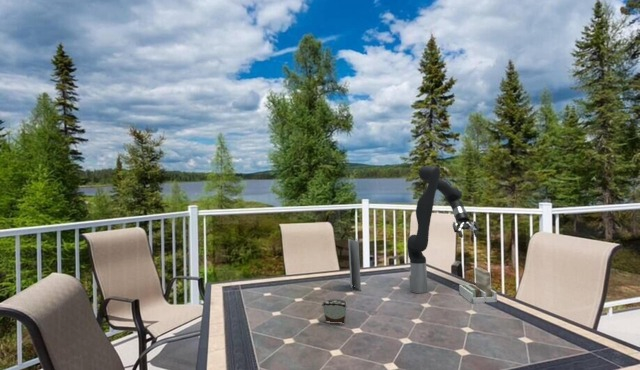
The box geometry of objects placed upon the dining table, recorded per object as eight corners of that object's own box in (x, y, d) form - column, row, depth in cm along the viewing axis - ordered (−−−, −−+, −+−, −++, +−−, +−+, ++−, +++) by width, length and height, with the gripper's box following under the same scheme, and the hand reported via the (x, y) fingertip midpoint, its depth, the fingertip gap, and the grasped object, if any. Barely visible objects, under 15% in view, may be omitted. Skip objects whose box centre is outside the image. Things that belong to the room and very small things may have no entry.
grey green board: (485, 301, 196) (484, 272, 196) (476, 294, 208) (475, 267, 208) (491, 300, 196) (490, 272, 196) (481, 294, 208) (480, 267, 208)
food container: (351, 320, 178) (350, 299, 178) (347, 324, 172) (346, 303, 172) (326, 318, 182) (325, 298, 182) (322, 322, 176) (321, 301, 176)
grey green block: (476, 301, 197) (476, 289, 197) (469, 295, 207) (468, 284, 207) (480, 300, 197) (479, 289, 197) (472, 295, 207) (472, 284, 207)
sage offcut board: (472, 301, 197) (471, 289, 197) (464, 295, 207) (464, 284, 207) (476, 301, 197) (475, 289, 197) (468, 295, 207) (467, 284, 207)
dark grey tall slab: (361, 290, 226) (358, 241, 226) (351, 291, 226) (349, 242, 226) (359, 284, 240) (356, 238, 240) (350, 285, 240) (348, 238, 240)
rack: (471, 303, 194) (471, 293, 194) (459, 293, 211) (459, 284, 211) (496, 301, 194) (496, 292, 194) (482, 292, 211) (482, 283, 211)
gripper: (450, 212, 227) (458, 233, 215) (473, 211, 226) (483, 232, 215) (448, 220, 232) (455, 241, 220) (470, 218, 232) (479, 239, 220)
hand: (469, 236), depth 218 cm, fingers open, 8 cm apart
